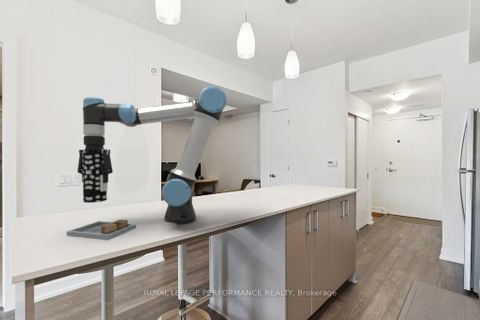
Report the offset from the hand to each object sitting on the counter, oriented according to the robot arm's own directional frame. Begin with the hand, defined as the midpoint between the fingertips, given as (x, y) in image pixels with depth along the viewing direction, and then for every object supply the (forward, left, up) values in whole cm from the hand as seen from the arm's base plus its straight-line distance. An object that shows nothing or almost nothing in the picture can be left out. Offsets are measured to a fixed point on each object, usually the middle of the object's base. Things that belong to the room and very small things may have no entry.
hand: (95, 190), depth 98 cm
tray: (-4, 0, -18) cm, 18 cm away
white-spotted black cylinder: (0, 0, -5) cm, 5 cm away
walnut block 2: (-10, -3, -17) cm, 20 cm away
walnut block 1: (-10, +3, -17) cm, 20 cm away
